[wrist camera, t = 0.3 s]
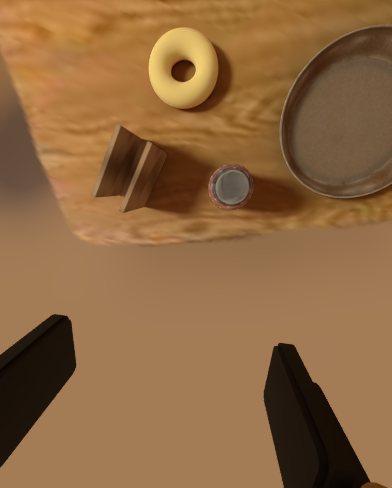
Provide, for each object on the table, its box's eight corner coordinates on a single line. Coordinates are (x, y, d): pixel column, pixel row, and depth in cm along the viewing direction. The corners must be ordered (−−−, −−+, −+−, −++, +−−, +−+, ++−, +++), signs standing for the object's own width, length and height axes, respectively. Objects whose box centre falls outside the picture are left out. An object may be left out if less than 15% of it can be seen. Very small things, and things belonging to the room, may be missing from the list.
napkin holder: (141, 139, 33) (116, 123, 25) (167, 154, 33) (152, 143, 25) (119, 193, 36) (91, 195, 28) (144, 206, 36) (123, 212, 28)
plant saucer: (285, 211, 34) (292, 213, 31) (263, 75, 29) (268, 61, 26) (422, 176, 31) (446, 175, 28) (423, 16, 26) (452, -8, 23)
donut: (210, 116, 33) (220, 41, 29) (214, 111, 29) (225, 23, 25) (150, 107, 32) (151, 29, 28) (145, 101, 28) (145, 8, 24)
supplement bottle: (250, 195, 34) (267, 199, 23) (219, 211, 35) (220, 222, 24) (236, 162, 33) (246, 150, 22) (203, 180, 34) (198, 177, 23)
